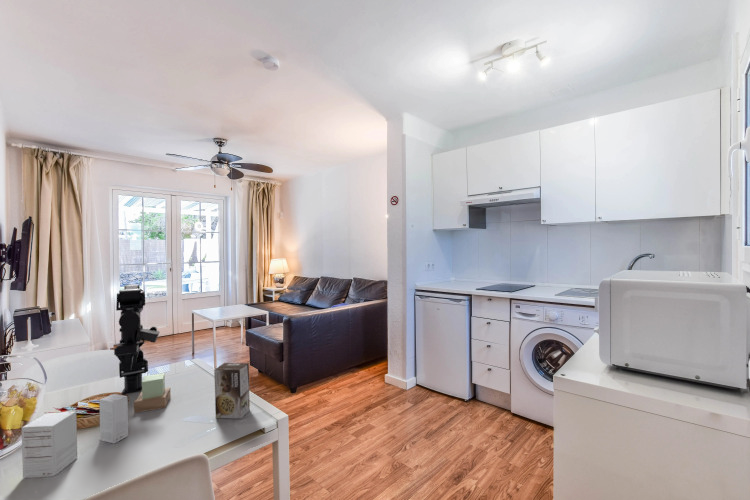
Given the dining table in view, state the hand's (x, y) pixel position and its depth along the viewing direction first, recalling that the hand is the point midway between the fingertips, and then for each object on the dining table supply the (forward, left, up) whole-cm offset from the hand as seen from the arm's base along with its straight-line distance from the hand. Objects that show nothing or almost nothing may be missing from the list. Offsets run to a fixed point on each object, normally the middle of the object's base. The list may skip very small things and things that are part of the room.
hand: (131, 367), depth 119 cm
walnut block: (+5, +7, -13) cm, 16 cm away
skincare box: (+25, 0, -13) cm, 28 cm away
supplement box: (+34, -11, -13) cm, 38 cm away
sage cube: (+5, +7, -9) cm, 13 cm away
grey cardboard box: (+26, +32, -13) cm, 43 cm away
